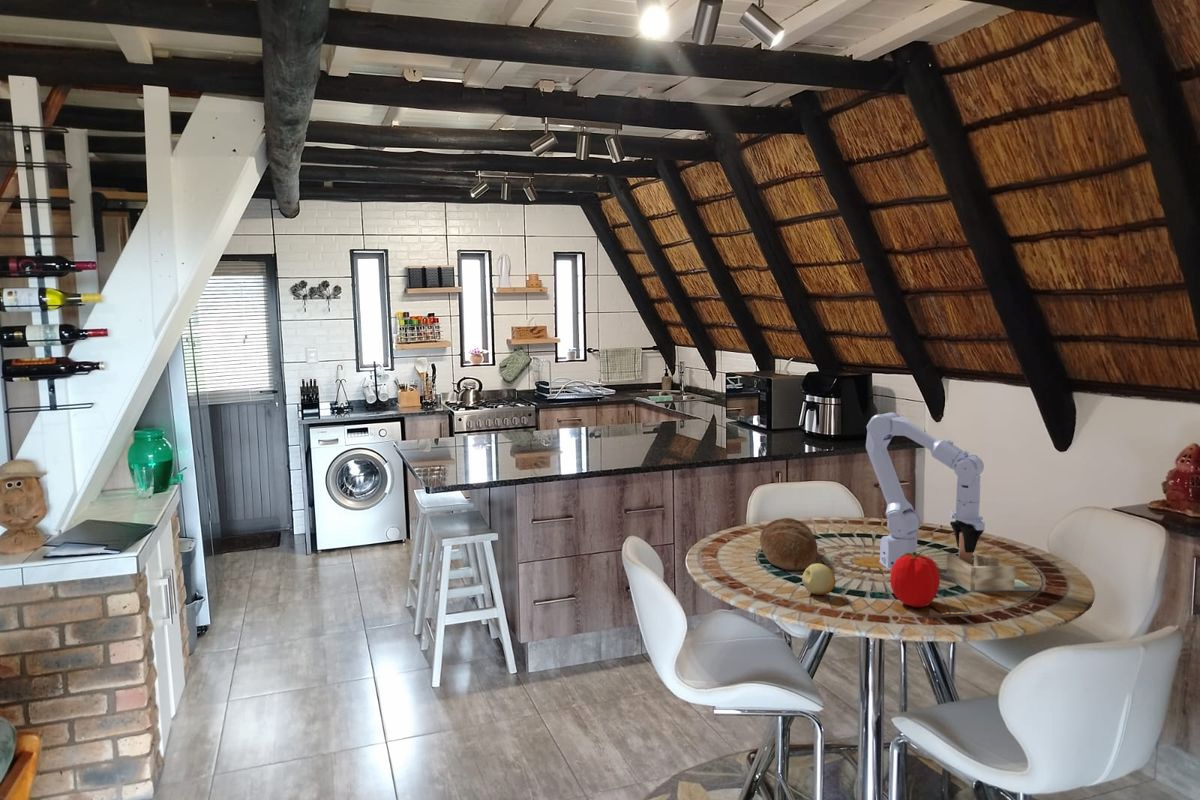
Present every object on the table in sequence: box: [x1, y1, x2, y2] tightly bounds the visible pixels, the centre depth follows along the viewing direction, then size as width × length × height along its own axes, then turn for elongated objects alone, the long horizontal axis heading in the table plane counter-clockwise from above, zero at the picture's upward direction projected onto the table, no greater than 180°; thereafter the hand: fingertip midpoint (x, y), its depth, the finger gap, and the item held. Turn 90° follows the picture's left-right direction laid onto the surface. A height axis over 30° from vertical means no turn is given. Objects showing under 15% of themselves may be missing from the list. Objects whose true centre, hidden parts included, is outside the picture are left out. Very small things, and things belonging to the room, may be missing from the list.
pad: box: [1014, 579, 1030, 587], centre depth 217 cm, size 5×5×1 cm
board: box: [939, 572, 1037, 593], centre depth 219 cm, size 18×16×1 cm
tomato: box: [889, 550, 941, 608], centre depth 201 cm, size 12×12×13 cm
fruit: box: [801, 562, 836, 596], centre depth 209 cm, size 8×8×8 cm
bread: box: [759, 517, 818, 571], centre depth 243 cm, size 16×29×11 cm, turn 175°
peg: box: [957, 532, 974, 565], centre depth 222 cm, size 4×4×8 cm
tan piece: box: [945, 553, 1016, 591], centre depth 218 cm, size 12×13×6 cm
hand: (965, 550), depth 222 cm, fingers closed on peg, 3 cm apart
